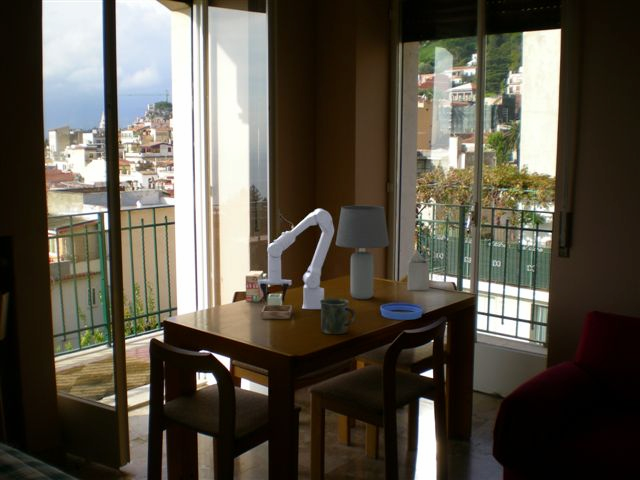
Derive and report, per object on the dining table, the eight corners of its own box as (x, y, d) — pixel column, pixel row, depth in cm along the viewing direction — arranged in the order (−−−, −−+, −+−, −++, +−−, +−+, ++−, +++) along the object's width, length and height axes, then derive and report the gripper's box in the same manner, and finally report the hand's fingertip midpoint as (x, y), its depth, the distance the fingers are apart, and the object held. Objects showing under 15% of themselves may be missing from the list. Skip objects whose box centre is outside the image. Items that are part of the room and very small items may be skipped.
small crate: (281, 307, 307) (281, 293, 306) (280, 311, 300) (280, 297, 299) (269, 306, 307) (269, 293, 306) (267, 310, 300) (267, 297, 299)
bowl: (395, 322, 281) (395, 314, 281) (372, 313, 297) (372, 305, 297) (431, 317, 290) (431, 309, 289) (407, 308, 305) (407, 301, 305)
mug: (329, 326, 275) (329, 296, 273) (361, 331, 267) (361, 301, 266) (314, 332, 266) (314, 302, 264) (347, 338, 258) (347, 306, 256)
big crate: (292, 312, 298) (292, 305, 297) (290, 319, 286) (290, 312, 285) (264, 311, 298) (264, 305, 298) (261, 318, 286) (261, 311, 286)
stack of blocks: (254, 291, 340) (254, 267, 338) (267, 292, 339) (267, 267, 338) (245, 301, 319) (245, 275, 317) (259, 301, 318) (258, 275, 316)
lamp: (375, 290, 342) (376, 204, 336) (397, 301, 319) (398, 209, 313) (328, 293, 334) (328, 205, 328) (346, 305, 311) (346, 210, 305)
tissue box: (421, 292, 338) (422, 253, 336) (407, 290, 343) (407, 252, 341) (436, 287, 351) (437, 249, 349) (422, 285, 356) (423, 248, 353)
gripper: (291, 268, 305) (291, 299, 307) (259, 268, 305) (259, 298, 307) (290, 271, 298) (290, 302, 300) (257, 271, 298) (257, 302, 300)
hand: (274, 300), depth 303 cm, fingers open, 7 cm apart
